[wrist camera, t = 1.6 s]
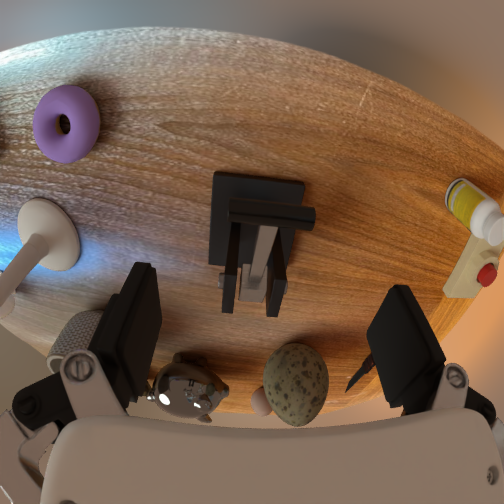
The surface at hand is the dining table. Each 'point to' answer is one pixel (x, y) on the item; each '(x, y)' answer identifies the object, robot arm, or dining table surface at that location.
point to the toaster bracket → (250, 234)
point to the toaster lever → (265, 237)
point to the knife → (362, 371)
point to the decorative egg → (296, 383)
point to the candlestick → (41, 243)
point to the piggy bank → (188, 389)
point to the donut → (81, 119)
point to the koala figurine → (7, 305)
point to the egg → (260, 403)
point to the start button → (487, 275)
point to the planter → (73, 337)
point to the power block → (471, 268)
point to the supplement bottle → (475, 211)
